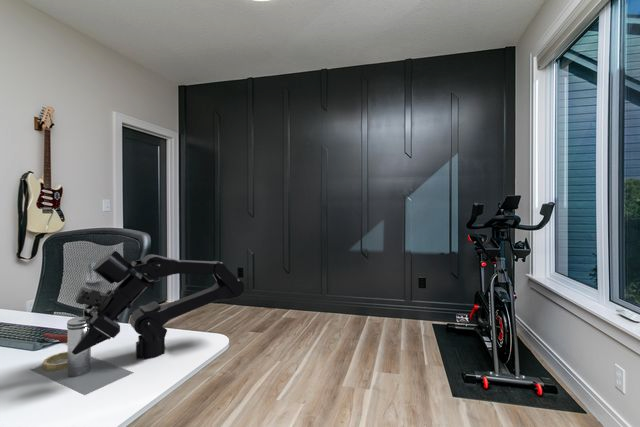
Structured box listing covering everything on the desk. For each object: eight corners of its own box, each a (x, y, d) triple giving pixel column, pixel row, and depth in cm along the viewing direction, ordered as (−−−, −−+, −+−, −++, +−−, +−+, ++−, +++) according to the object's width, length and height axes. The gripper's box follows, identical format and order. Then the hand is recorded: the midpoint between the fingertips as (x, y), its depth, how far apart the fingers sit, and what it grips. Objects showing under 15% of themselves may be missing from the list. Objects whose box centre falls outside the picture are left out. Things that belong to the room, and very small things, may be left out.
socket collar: (83, 357, 90) (83, 348, 90) (81, 369, 83) (81, 359, 83) (45, 364, 85) (45, 355, 85) (40, 378, 79) (40, 367, 79)
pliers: (76, 354, 93) (77, 345, 93) (40, 341, 101) (40, 333, 101) (117, 340, 103) (117, 332, 103) (80, 330, 112) (80, 322, 112)
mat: (30, 373, 81) (30, 369, 81) (79, 356, 91) (79, 352, 91) (85, 399, 70) (85, 394, 70) (134, 376, 80) (134, 372, 80)
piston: (91, 365, 83) (91, 315, 83) (90, 373, 79) (91, 320, 79) (67, 370, 80) (68, 318, 80) (65, 379, 76) (66, 324, 76)
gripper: (94, 270, 89) (41, 318, 82) (103, 281, 75) (40, 341, 68) (127, 294, 94) (80, 341, 87) (142, 309, 80) (86, 367, 73)
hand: (72, 347), depth 79 cm, fingers open, 9 cm apart
